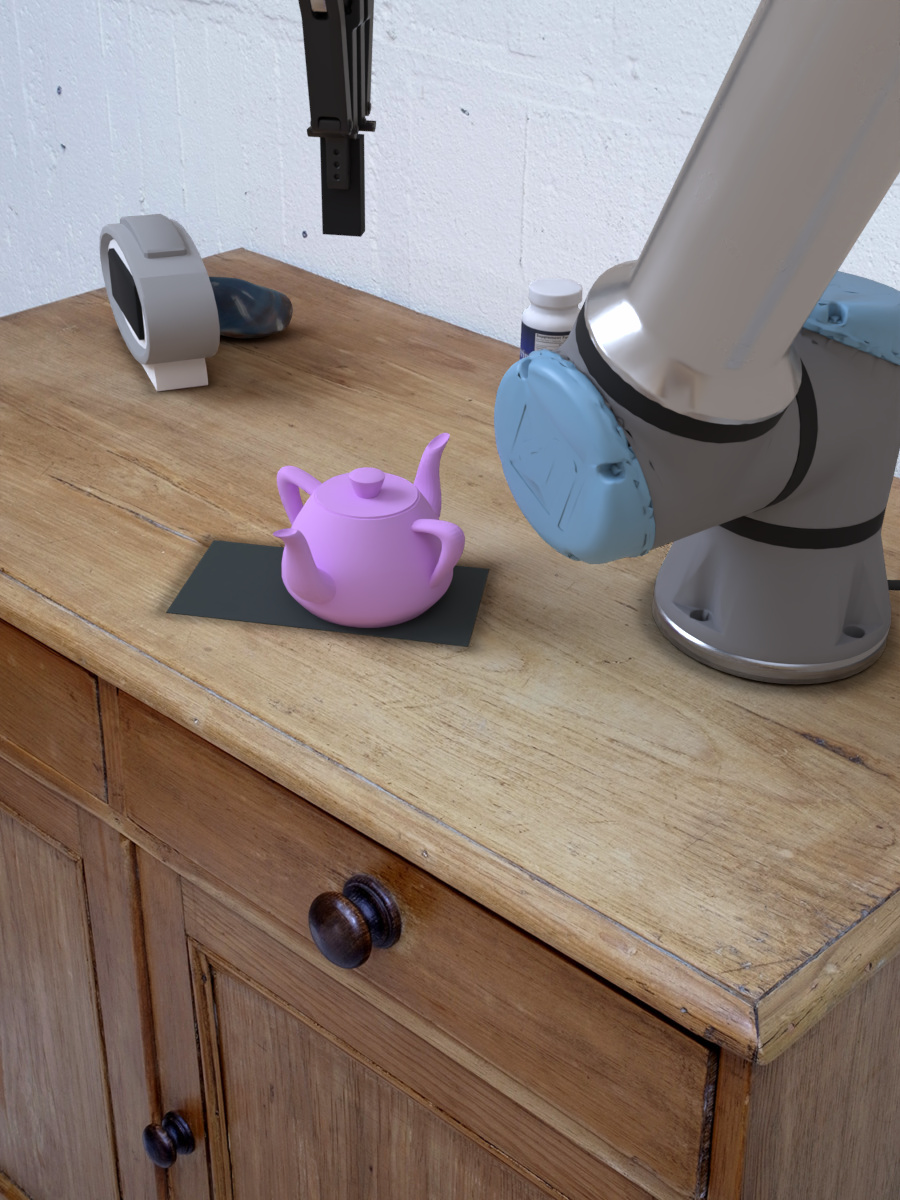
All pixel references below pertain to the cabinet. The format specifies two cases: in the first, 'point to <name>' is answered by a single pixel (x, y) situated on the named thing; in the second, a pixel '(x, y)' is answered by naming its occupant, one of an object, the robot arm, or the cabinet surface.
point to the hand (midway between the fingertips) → (344, 232)
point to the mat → (258, 595)
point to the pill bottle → (549, 314)
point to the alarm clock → (160, 298)
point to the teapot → (368, 543)
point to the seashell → (249, 308)
